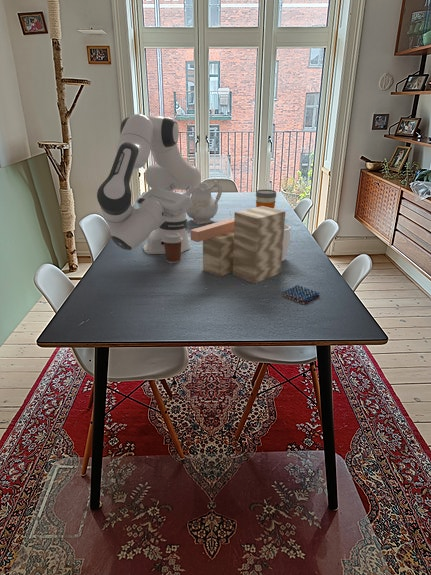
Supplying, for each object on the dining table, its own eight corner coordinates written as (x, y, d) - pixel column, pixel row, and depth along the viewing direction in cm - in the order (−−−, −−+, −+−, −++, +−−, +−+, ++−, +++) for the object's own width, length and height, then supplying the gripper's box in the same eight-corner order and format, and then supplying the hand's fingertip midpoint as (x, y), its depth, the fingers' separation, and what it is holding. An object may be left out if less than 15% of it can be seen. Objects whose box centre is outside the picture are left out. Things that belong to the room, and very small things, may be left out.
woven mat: (296, 288, 155) (296, 283, 154) (320, 297, 148) (321, 292, 147) (279, 296, 148) (280, 291, 147) (304, 306, 142) (305, 301, 141)
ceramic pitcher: (223, 220, 245) (223, 177, 237) (220, 226, 227) (220, 181, 219) (188, 219, 247) (187, 177, 239) (182, 225, 229) (181, 180, 220)
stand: (254, 283, 158) (257, 218, 147) (233, 274, 166) (234, 212, 155) (280, 273, 167) (285, 211, 156) (259, 265, 175) (262, 205, 164)
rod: (197, 242, 153) (197, 232, 151) (190, 239, 156) (190, 229, 154) (245, 227, 171) (245, 218, 170) (238, 225, 174) (238, 216, 172)
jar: (269, 263, 177) (272, 230, 170) (261, 255, 186) (263, 224, 179) (292, 261, 179) (295, 229, 173) (282, 253, 188) (285, 222, 182)
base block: (219, 276, 163) (219, 239, 157) (203, 269, 170) (202, 233, 163) (239, 269, 171) (241, 233, 164) (223, 262, 177) (224, 227, 171)
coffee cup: (164, 265, 175) (163, 238, 170) (161, 258, 183) (160, 232, 178) (185, 263, 177) (184, 237, 172) (181, 256, 185) (180, 230, 180)
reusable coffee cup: (276, 218, 245) (277, 193, 239) (255, 218, 245) (256, 193, 239) (273, 213, 256) (275, 189, 250) (254, 213, 257) (255, 189, 250)
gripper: (169, 210, 123) (198, 183, 128) (133, 199, 137) (161, 174, 141) (177, 226, 127) (206, 198, 132) (142, 213, 141) (169, 189, 146)
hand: (182, 186), depth 137 cm, fingers open, 8 cm apart
